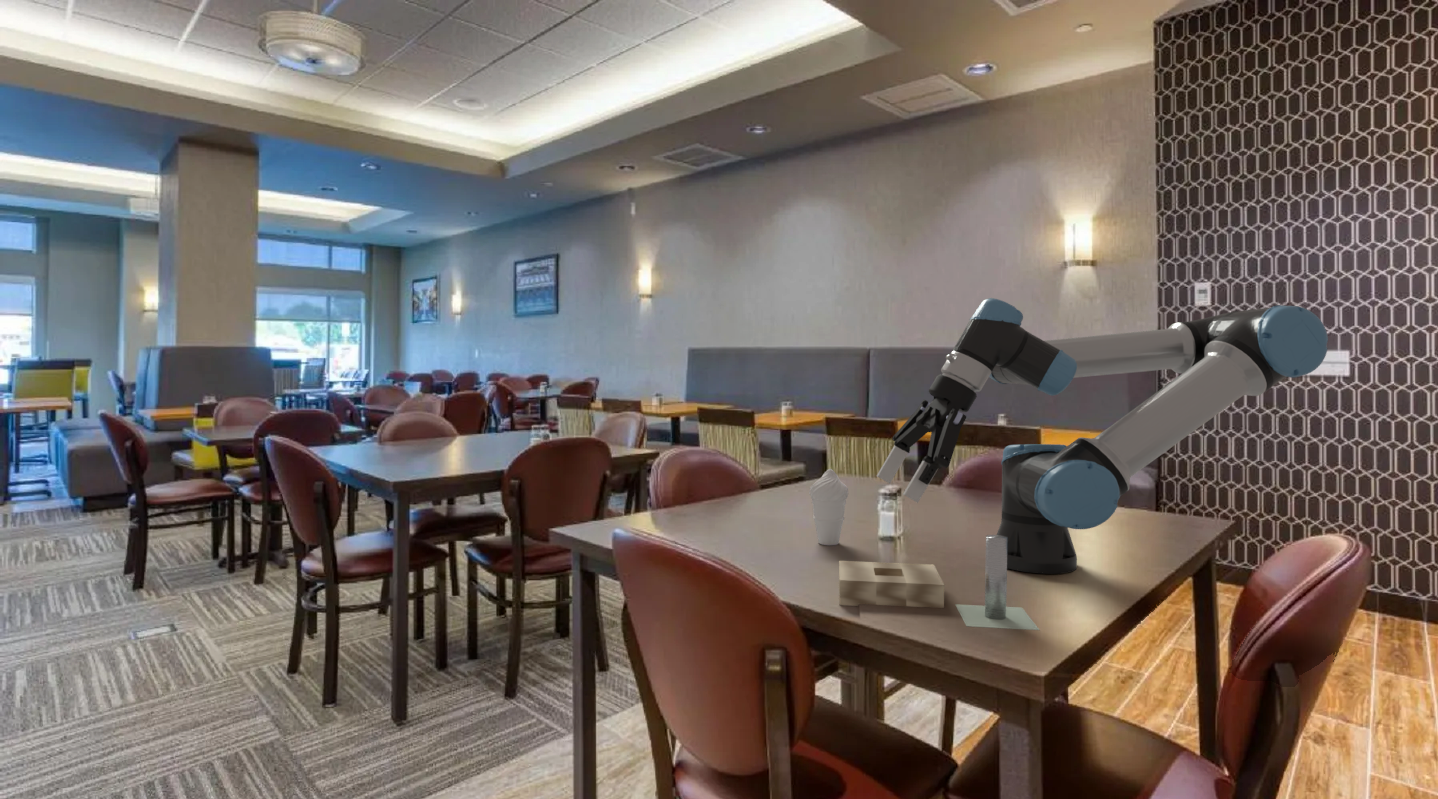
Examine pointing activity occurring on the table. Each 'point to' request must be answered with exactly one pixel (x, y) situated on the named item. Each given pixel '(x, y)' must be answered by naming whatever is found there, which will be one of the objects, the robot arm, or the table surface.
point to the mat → (1014, 620)
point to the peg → (996, 577)
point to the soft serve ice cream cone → (828, 507)
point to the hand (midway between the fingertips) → (895, 488)
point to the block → (890, 584)
